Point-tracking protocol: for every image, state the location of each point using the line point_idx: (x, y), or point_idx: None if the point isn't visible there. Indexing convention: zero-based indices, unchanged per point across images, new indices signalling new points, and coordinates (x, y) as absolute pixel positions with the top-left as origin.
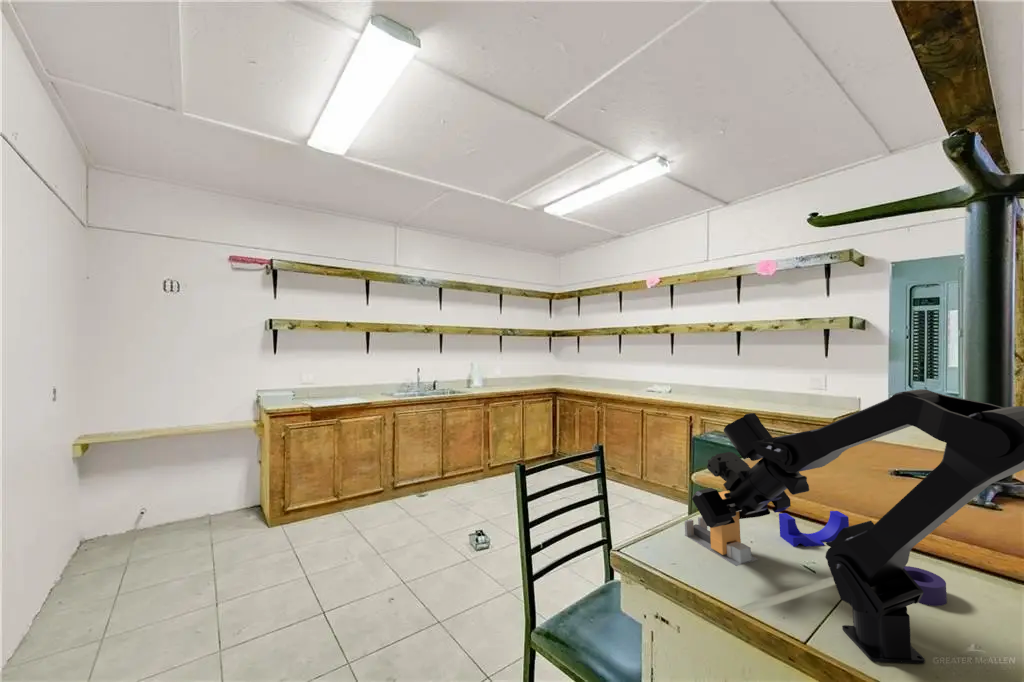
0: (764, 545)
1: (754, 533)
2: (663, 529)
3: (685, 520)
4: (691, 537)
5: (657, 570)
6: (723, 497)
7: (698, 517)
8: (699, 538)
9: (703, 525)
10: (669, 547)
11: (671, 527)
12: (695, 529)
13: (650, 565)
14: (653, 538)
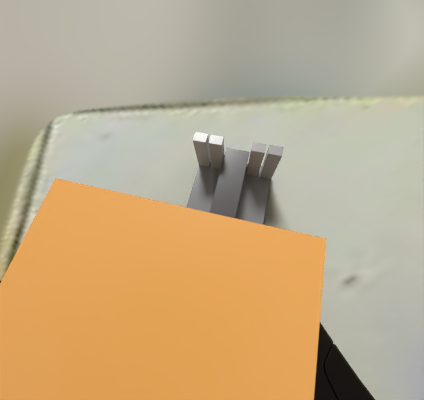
0: (366, 323)
1: (409, 256)
2: (210, 104)
3: (198, 133)
4: (203, 174)
5: (23, 215)
6: (60, 367)
7: (253, 143)
8: (214, 190)
9: (263, 165)
10: (140, 165)
11: (234, 107)
12: (222, 166)
13: (34, 192)
14: (153, 119)
